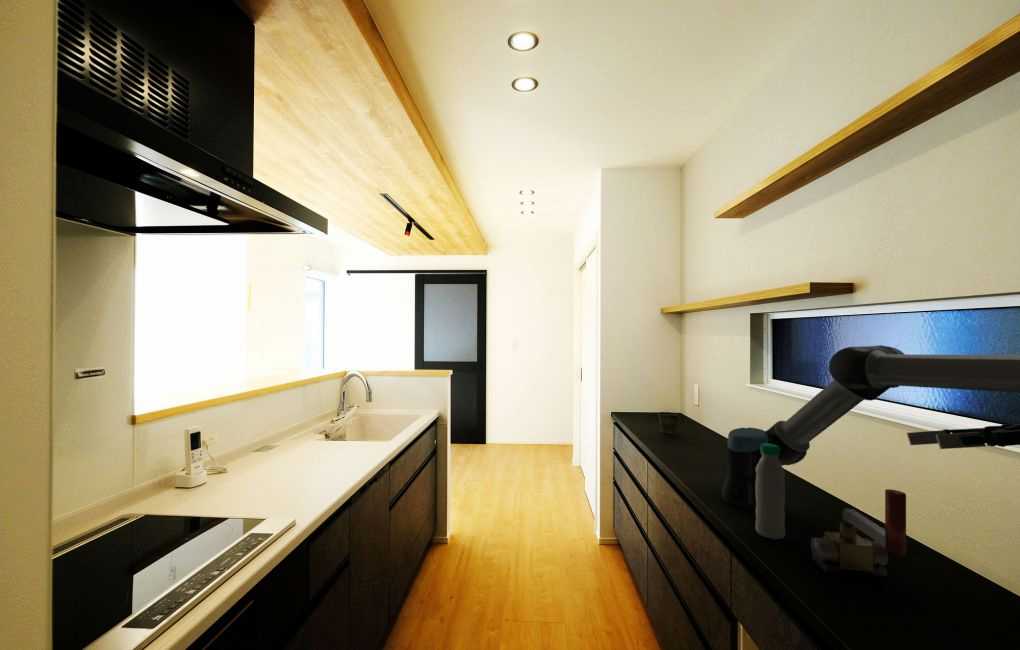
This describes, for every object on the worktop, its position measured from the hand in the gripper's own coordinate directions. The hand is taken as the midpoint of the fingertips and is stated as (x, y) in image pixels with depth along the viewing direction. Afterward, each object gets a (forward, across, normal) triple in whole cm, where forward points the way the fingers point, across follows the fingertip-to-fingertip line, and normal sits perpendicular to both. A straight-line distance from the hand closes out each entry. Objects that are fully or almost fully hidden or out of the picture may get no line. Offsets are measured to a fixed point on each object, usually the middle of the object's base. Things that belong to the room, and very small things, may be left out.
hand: (922, 440), depth 90 cm
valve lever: (+13, +6, -21) cm, 25 cm away
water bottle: (+31, +26, -24) cm, 47 cm away
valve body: (+16, +15, -29) cm, 37 cm away
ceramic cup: (+60, +133, +3) cm, 146 cm away
